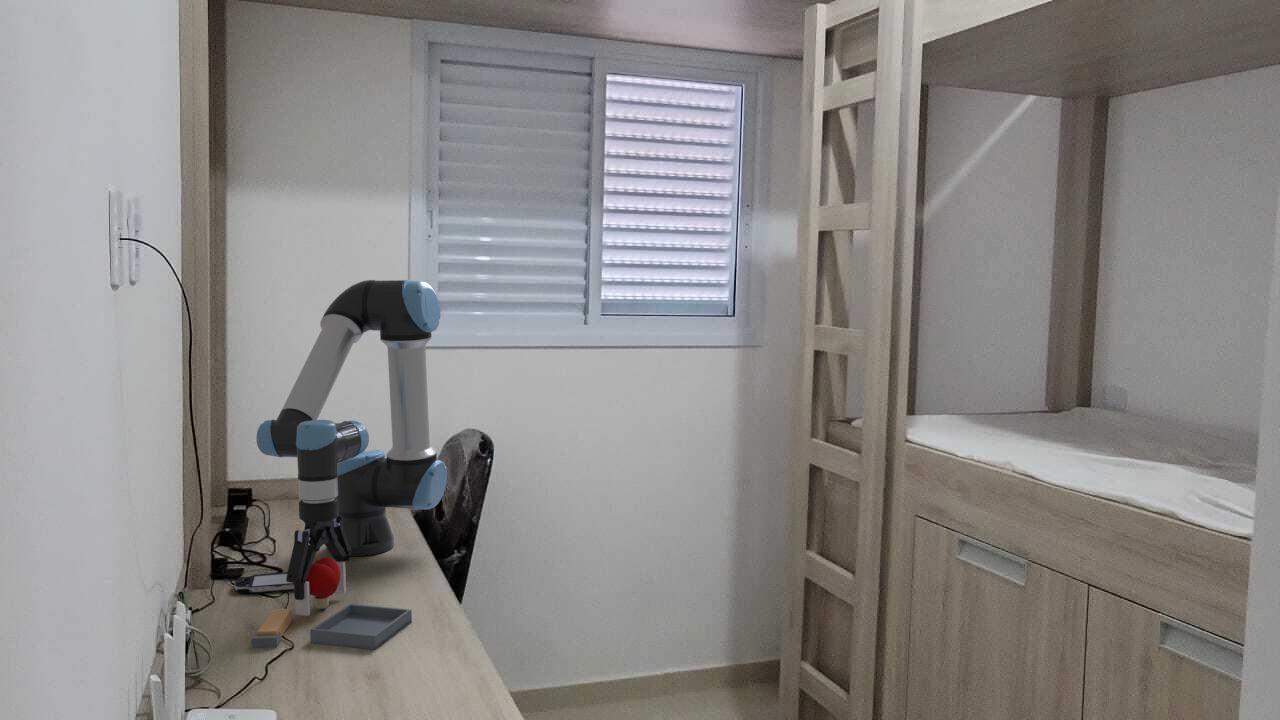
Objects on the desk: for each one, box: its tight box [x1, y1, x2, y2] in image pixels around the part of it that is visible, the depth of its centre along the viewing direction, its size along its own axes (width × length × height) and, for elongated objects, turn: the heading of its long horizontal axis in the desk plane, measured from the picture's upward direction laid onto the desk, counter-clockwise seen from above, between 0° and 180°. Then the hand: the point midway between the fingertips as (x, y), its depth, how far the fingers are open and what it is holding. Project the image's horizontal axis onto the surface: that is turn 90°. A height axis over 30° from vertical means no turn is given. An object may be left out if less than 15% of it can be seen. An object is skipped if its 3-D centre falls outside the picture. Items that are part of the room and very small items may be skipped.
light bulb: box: [306, 557, 340, 611], centre depth 207 cm, size 9×7×10 cm
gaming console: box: [234, 571, 294, 595], centre depth 222 cm, size 19×9×2 cm, turn 105°
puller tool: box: [250, 608, 293, 649], centre depth 194 cm, size 14×4×2 cm, turn 6°
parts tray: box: [309, 603, 413, 650], centre depth 195 cm, size 14×13×2 cm
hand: (321, 603), depth 207 cm, fingers open, 13 cm apart
